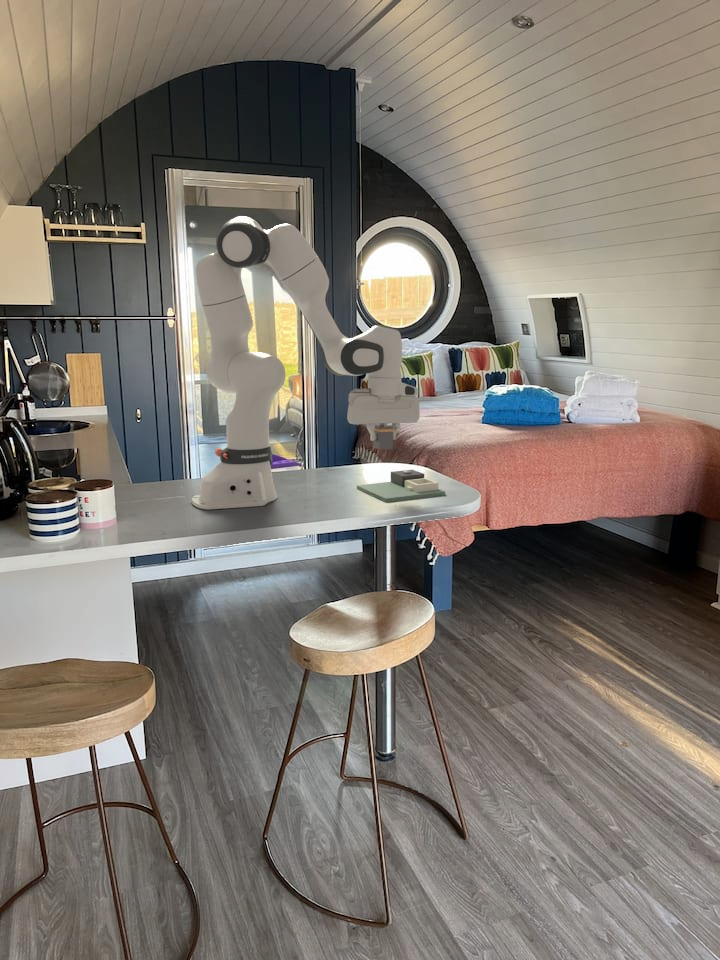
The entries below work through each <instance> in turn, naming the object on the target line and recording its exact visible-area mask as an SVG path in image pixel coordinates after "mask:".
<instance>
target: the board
mask: <svg viewBox="0 0 720 960" xmlns="http://www.w3.org/2000/svg"><path fill="white" fill-rule="evenodd" d="M356 489H357V490H358V491H361V492H362V493H365V494H367V495H369V496H371V497H373V498H376V499H378V500H379V501H382V502H384V503H390V502H399V501H407V500H408V501H409V500H415V499H422V498H423V499H424V498H433V497H440V495H441V496H445V495H446V491H445V490H442V489H441V488H438V490H432V491H424V492H415V491H409V490H406V488H405V487H402V486H399V485H397V484H394V483H392V482H391V481H386V482H377V483H376V482H375V483H366V484H360V485H359V484H358V485H356Z"/></svg>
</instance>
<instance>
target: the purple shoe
mask: <svg viewBox="0 0 720 960" xmlns="http://www.w3.org/2000/svg"><path fill="white" fill-rule="evenodd" d="M300 466H302V463H300V462H298V461H295V460H292V459H289V458H285V457H283V456H280V455H277V454H275V453H272V466H271V470H276V469H283V468H293V467H300Z"/></svg>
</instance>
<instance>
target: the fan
mask: <svg viewBox="0 0 720 960" xmlns="http://www.w3.org/2000/svg"><path fill="white" fill-rule="evenodd" d="M422 478H425V473H423V472H421V471H418V470H415V469H405V470H396V471H390V482H392V483H394V484H397V485H399V486H402V487H405V480H413V479H422Z"/></svg>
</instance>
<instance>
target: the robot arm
mask: <svg viewBox="0 0 720 960" xmlns="http://www.w3.org/2000/svg"><path fill="white" fill-rule="evenodd" d="M215 245H216V246H215V247H216V251H214V252H213V253H209V254H206V255H204V256H203V257H201V258H200V259H199V260H198V261H197V262H196V266H195V277H196V284H197V290H198V294H199V298H200V301H201V305H202V308H203V309H202V310H203V312H204V315H205V318H206V319H205V320H206V324H207V326H208V330H209V336H210V342H211V343H210V344H211V356H210V359H209V361H208V363H207V366H206V376H207V379H208V381H209V383H210V384H211V386H213V387H214V388H216V389H218V390H220V391H222V392H225V393H228V394H236V396H235V401H234V404H233V408H232V410H231V411H230V412H229V414H228V415H227V416H226V419H225V427H226V444H227V445H226V447H225V448H224V449H222V448H220V447H218V448H216V449H215V450H214V455H216V456H218V457H219V458H220V462H219V464H217V465H216V466H215V467H214V468H212V469H211V470H210V471H209V472H208V473H206V474H205V475H203V477H202V479H201V480H200V485H199V487H200V488H199V494H196V495H194V496H192V497H191V504H192V505H193V507H194V506H195V508H198V509H201V510H219V509H221V510H222V509H235V508H236V509H237V508H251V507H262V506H265V505H267V504H268V503H271V502H273V501H275V500H277V499H278V495H277V492H276V488H275V485H274V480H273V473H272V469H271V466H272V454H273V452H272V447H271V445H270V413H271V409H272V405H273V401H274V399H275V396H276V395H277V393H278V392H279V391H280V390H281V389H282V387H283V386H284V384H285V381H286V376H287V375H286V368H285V365H284V363H283V362H282V361H281V360H280V359H279V358H278V357H276V356H274V355H271V354H269V353H267V352H262V351H250V348H249V334H250V332H251V331H252V329H253V327H254V322H253V317H252V313H251V310H250V307H249V301H248V299H247V296H246V292H245V288H244V285H243V281H242V269H245V268H250V267H252V266H256V265H261V264H263V263H266V264H267V265H268V266H269V267H270V268H271V269H272V270H273V272H274V274H275V275H276V276H277V278H278V280H279V281H280V282H281V284H282V287H284V289H285V290H286V292H287V293H288V295H289V296H290V298H291V299H292V300H293V302H294V303H295V305H296V306H297V307H298V309H299V310H300V311H301V313H302V315H303V317H304V318H305V320H306V322H307V324H308V326H309V328H310V330H311V331H312V333H313V334H314V337H315V338H316V341H318V343H319V347H320V349H321V356H322V361H323V364H324V366H325V368H326V369H327V370H328V371H329V372H330V373H331V374H333V375H335V376H338V377H344V376H353V377H355V376H356V377H358V376H363V375H365V374H366V375H367V388H353V390H351V391H350V392H349V393H348V400H347V401H348V407H347V416H346V417H347V418H346V420H347V422H348V423H349V424H351V425H366V429H367V431H368V433H369V435H370V437H369V438H370V439H369V440H370V441H371V442H373V441H378V434H375V432H374V430H373V428H375V425H379V424H388V425H390V424H391V426H393V429H394V432H393V441H396V439H397V433H398V431H399V429H400V428H401V424H411V423H412V424H415V423H418V421H419V420H420V414H421V412H420V409H421V408H420V401H419V398H418V397H417V395H418V394H419V389H418V387H416V386H413V385H410V384H407V383H405V382H403V381H402V378H403V377H402V373H401V365H402V363H403V342H402V336H401V333H400V331H399V330H398V329H396V328H395V327H392V326H388V325H387V326H386V325H383V324H382V325H380V324H379V325H378V324H376V325H373V326H371V328H369V329H368V330H367V331H365V332H362V333H361V334H359V335H355V336H353V337H350V338H349V337H347V336H345V335H344V334H343V333H342V332H341V331H340V329H339V327H338V326H337V324H336V322H335V319H334V318H333V317H332V314H331V313H330V311H329V309H328V306H327V303H326V295H327V293H328V290H329V287H330V278H329V275H328V274H327V273H328V272H327V270H326V268H325V267H324V265H323V263H322V261H321V259H320V257H319V256H318V254H317V253H316V251H315V250H314V248H313V247H312V245H311V244H310V242H309V241H308V240H307V239H306V238H305V236H304V235H303V234H302V233H301V232H300V230H299V229H298V228H297V227H296V226H295V225H293V224H289V223H282V224H281V223H280V224H278V225H275V226H274V227H273V228H270V229H265V228H264V227H263V225H262V224H261V222H260V221H258V220H257V219H256V218H254V217H251V216H249V215H238V216H236V217H232V218H230V219H229V220H228V221H226V222H225V223H224V224H223V225H222V227H221V228H220V229H219V231H218V233H217V235H216V240H215Z"/></svg>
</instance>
